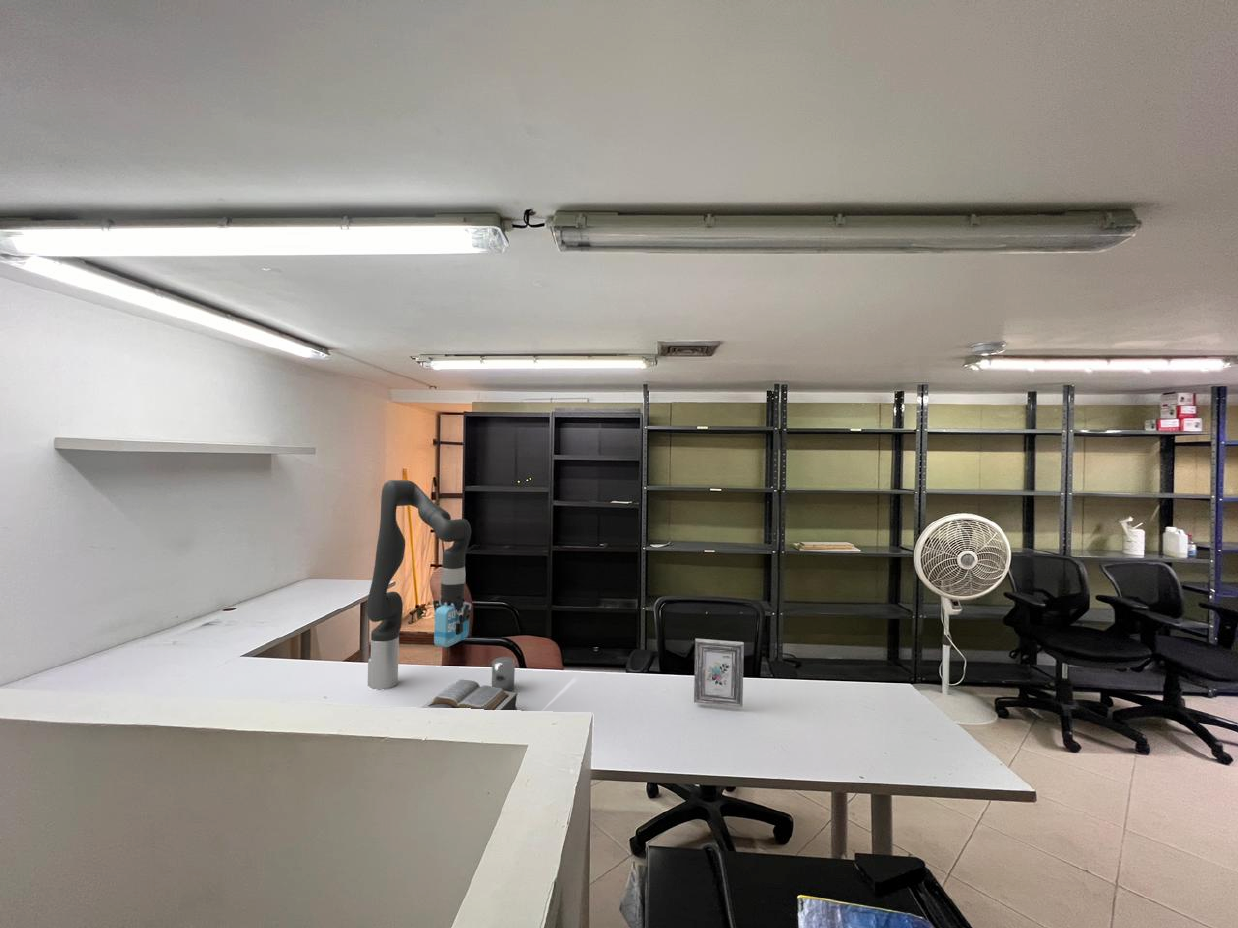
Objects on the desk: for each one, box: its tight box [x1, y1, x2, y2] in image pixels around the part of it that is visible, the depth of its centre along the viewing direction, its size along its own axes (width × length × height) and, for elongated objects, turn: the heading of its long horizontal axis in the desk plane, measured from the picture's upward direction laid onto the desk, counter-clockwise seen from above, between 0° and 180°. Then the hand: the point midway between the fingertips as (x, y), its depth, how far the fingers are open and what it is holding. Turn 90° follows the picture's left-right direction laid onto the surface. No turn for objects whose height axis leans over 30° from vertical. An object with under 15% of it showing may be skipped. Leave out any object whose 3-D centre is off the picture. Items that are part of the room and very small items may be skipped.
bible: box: [420, 678, 518, 711], centre depth 155 cm, size 23×27×10 cm
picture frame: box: [693, 638, 745, 708], centre depth 170 cm, size 16×2×22 cm, turn 81°
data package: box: [433, 601, 470, 648], centre depth 159 cm, size 12×4×12 cm, turn 161°
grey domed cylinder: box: [491, 656, 516, 692], centre depth 177 cm, size 8×8×10 cm
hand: (451, 632), depth 159 cm, fingers closed on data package, 4 cm apart
